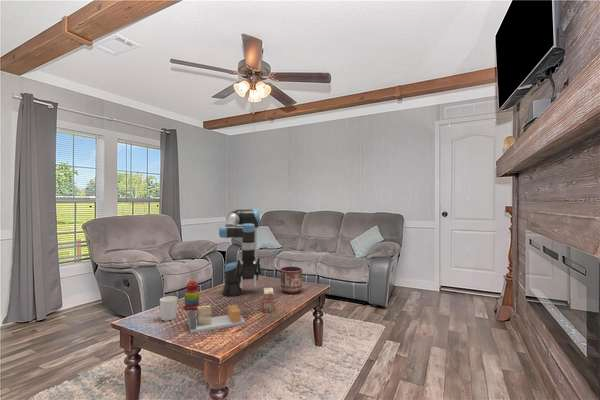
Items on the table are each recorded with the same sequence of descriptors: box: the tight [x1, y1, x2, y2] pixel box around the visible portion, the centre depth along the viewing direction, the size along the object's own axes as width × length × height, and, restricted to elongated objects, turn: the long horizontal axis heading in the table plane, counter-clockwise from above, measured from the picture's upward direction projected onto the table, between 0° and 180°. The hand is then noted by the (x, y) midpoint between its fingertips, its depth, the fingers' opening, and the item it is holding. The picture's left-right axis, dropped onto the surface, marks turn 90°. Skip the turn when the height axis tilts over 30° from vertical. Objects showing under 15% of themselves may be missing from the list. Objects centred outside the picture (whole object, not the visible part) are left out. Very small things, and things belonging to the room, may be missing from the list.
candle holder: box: [159, 295, 178, 322], centre depth 182 cm, size 10×10×12 cm
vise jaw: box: [227, 303, 242, 323], centre depth 179 cm, size 12×5×6 cm, turn 25°
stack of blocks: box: [263, 287, 275, 313], centre depth 204 cm, size 21×6×12 cm, turn 7°
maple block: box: [196, 304, 212, 326], centre depth 172 cm, size 5×7×9 cm
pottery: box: [279, 266, 303, 295], centre depth 237 cm, size 18×18×18 cm
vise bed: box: [187, 310, 246, 334], centre depth 175 cm, size 14×30×8 cm, turn 115°
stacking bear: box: [183, 279, 202, 311], centre depth 201 cm, size 11×10×18 cm
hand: (248, 286), depth 183 cm, fingers open, 8 cm apart
